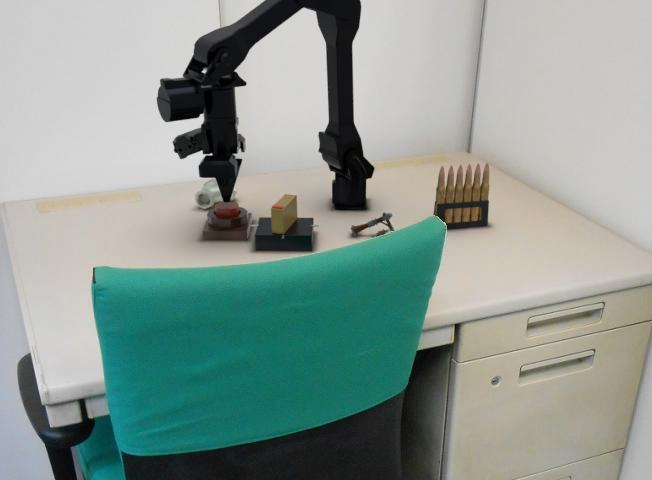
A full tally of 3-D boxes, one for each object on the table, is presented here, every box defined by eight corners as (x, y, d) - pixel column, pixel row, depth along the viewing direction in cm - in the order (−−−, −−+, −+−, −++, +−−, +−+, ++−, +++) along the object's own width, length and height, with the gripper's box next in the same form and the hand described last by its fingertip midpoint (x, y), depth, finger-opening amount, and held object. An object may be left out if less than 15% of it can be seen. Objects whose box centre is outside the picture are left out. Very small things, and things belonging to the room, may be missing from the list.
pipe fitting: (237, 199, 173) (205, 195, 173) (238, 181, 171) (205, 177, 171) (228, 212, 166) (195, 208, 166) (228, 193, 164) (195, 189, 164)
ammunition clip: (484, 222, 163) (490, 161, 156) (487, 226, 161) (493, 164, 155) (432, 226, 160) (435, 164, 154) (435, 230, 159) (439, 167, 152)
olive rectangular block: (286, 217, 155) (285, 192, 152) (297, 218, 154) (296, 193, 152) (271, 232, 148) (270, 207, 145) (283, 234, 148) (282, 208, 145)
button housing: (252, 221, 161) (251, 203, 159) (247, 240, 153) (246, 222, 151) (210, 220, 161) (209, 203, 159) (203, 240, 153) (201, 221, 151)
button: (240, 210, 157) (240, 201, 156) (238, 218, 154) (237, 209, 153) (217, 210, 157) (216, 201, 156) (214, 218, 153) (213, 209, 153)
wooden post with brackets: (399, 233, 154) (390, 211, 152) (359, 248, 156) (350, 227, 154) (400, 230, 156) (390, 208, 154) (360, 245, 158) (351, 224, 156)
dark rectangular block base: (319, 230, 158) (319, 213, 156) (318, 254, 148) (317, 237, 146) (255, 229, 158) (254, 213, 156) (248, 254, 147) (247, 237, 146)
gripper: (182, 101, 153) (190, 185, 162) (163, 128, 138) (174, 219, 146) (243, 102, 154) (248, 185, 162) (231, 128, 138) (238, 219, 146)
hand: (226, 201), depth 154 cm, fingers closed
